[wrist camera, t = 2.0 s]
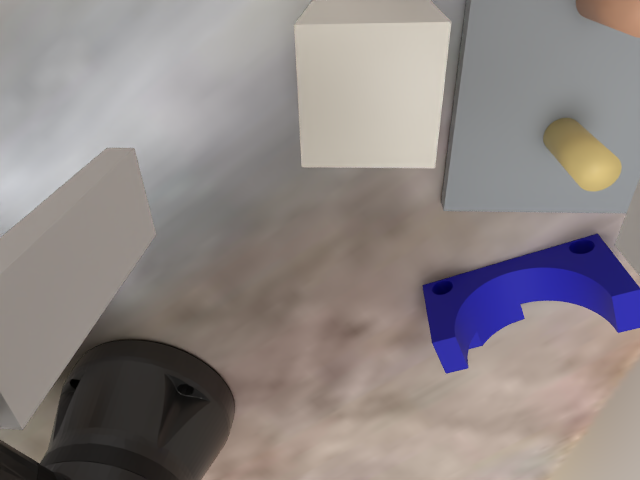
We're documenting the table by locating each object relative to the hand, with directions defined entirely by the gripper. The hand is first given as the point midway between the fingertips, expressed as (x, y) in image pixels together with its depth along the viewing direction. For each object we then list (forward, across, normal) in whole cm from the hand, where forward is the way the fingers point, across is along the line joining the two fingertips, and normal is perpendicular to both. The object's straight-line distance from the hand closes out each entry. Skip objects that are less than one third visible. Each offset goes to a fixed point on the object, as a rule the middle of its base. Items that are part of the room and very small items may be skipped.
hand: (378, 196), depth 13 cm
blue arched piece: (+17, +11, -16) cm, 25 cm away
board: (+16, +11, -1) cm, 20 cm away
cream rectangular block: (+16, 0, 0) cm, 17 cm away
